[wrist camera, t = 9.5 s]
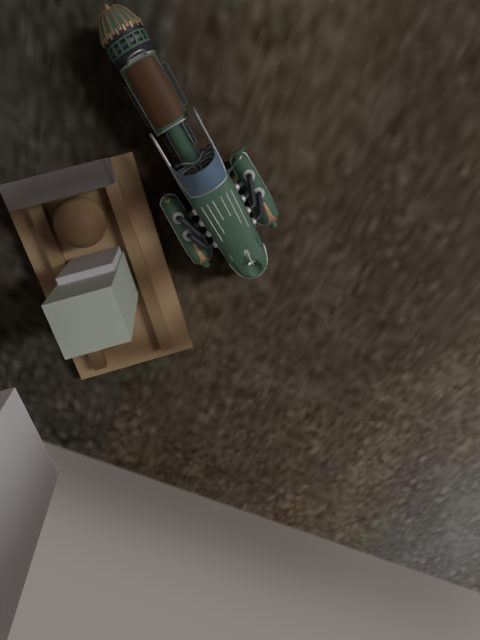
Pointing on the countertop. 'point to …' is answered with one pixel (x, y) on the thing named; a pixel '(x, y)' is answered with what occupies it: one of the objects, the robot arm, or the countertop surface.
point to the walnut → (79, 222)
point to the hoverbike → (191, 156)
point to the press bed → (121, 230)
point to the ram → (92, 303)
